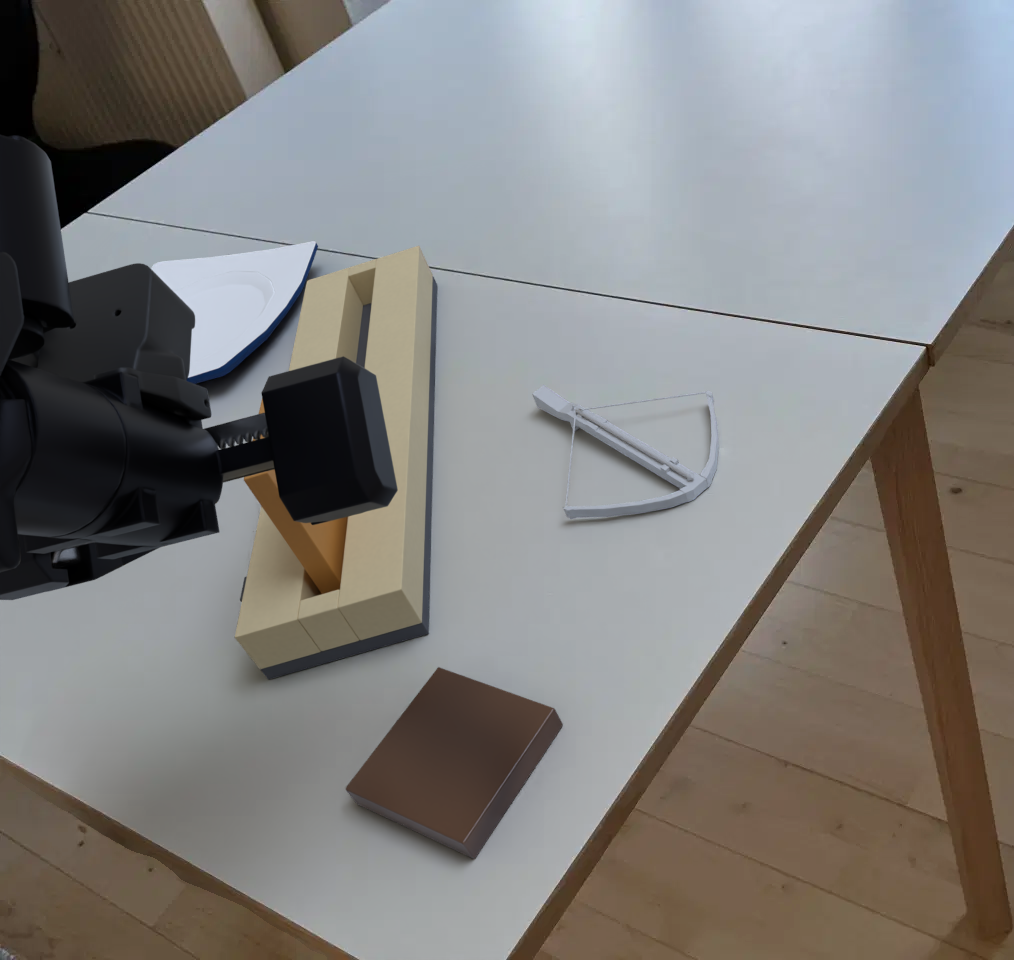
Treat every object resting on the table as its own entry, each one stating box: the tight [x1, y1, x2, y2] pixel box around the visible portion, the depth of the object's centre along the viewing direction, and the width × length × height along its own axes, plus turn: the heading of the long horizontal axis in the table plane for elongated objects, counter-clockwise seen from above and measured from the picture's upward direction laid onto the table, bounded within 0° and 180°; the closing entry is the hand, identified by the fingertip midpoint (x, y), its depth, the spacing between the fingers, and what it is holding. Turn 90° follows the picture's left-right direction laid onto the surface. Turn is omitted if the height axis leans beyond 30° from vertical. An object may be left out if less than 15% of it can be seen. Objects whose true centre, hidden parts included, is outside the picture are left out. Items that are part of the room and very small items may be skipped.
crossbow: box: [531, 384, 720, 520], centre depth 71 cm, size 16×13×2 cm
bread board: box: [344, 666, 564, 859], centre depth 56 cm, size 8×8×2 cm
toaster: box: [234, 245, 438, 680], centre depth 78 cm, size 40×11×4 cm, turn 8°
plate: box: [150, 240, 319, 385], centre depth 98 cm, size 20×20×3 cm
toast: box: [243, 398, 348, 594], centre depth 65 cm, size 8×1×11 cm, turn 8°
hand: (267, 502), depth 55 cm, fingers open, 9 cm apart
